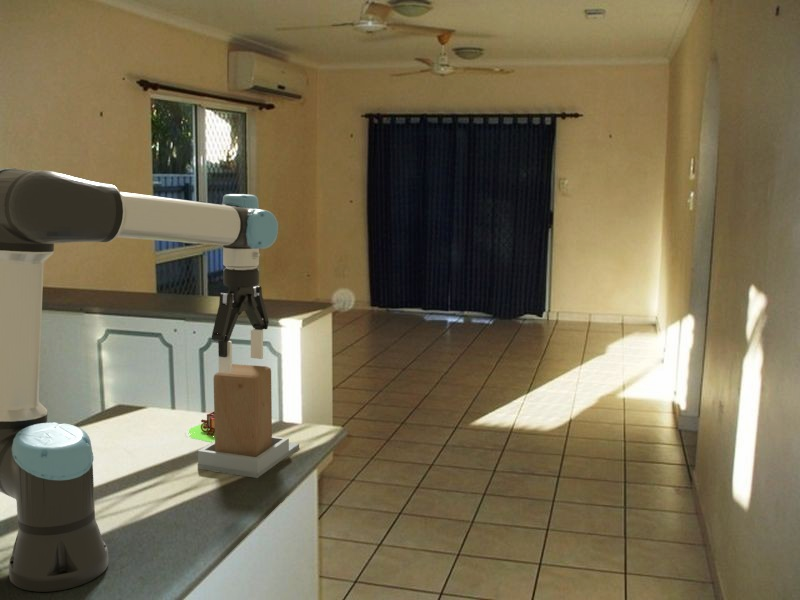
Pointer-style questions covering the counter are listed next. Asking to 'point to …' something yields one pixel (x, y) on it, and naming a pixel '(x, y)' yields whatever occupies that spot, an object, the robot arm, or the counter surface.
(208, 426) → the wagon
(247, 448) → the wooden block
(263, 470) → the open square tray
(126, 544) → the counter surface
